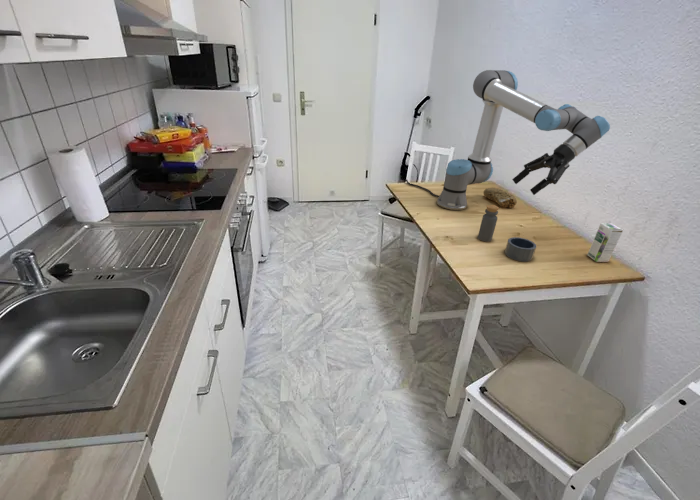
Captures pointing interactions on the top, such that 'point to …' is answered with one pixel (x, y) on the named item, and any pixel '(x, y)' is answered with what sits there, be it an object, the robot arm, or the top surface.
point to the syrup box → (604, 242)
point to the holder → (520, 249)
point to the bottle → (488, 223)
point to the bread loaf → (500, 197)
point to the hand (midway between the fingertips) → (522, 187)
